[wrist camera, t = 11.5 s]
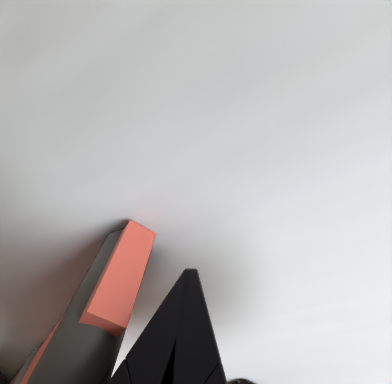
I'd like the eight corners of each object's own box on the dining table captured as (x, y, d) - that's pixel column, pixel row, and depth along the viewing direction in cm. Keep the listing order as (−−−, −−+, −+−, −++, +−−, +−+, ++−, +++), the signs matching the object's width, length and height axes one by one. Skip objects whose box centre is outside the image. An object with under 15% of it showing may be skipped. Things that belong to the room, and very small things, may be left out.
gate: (56, 365, 18) (-2, 483, 13) (27, 354, 17) (-44, 474, 13) (164, 238, 11) (121, 397, 6) (121, 214, 10) (39, 367, 6)
